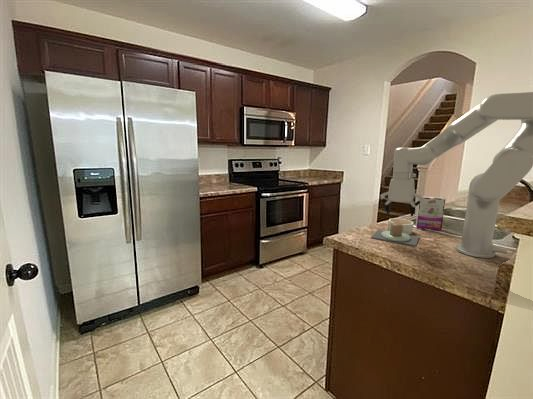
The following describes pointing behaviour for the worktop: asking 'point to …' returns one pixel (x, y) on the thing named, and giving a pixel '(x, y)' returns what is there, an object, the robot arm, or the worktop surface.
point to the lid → (396, 233)
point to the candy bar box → (430, 213)
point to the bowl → (406, 224)
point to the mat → (411, 242)
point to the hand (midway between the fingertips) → (399, 214)
